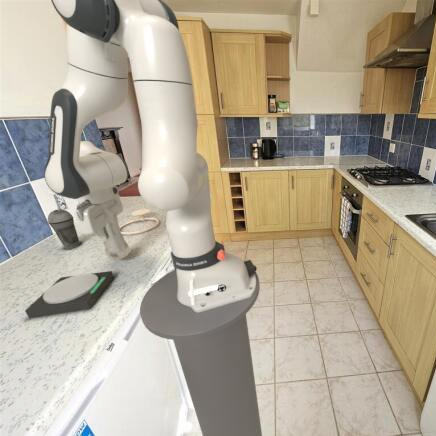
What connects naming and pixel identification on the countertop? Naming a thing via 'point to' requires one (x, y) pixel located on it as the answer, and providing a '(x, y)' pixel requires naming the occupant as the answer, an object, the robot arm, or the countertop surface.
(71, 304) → the kitchen scale
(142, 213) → the hand towel holder
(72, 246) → the beverage cup
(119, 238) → the plastic bottle
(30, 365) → the countertop surface
